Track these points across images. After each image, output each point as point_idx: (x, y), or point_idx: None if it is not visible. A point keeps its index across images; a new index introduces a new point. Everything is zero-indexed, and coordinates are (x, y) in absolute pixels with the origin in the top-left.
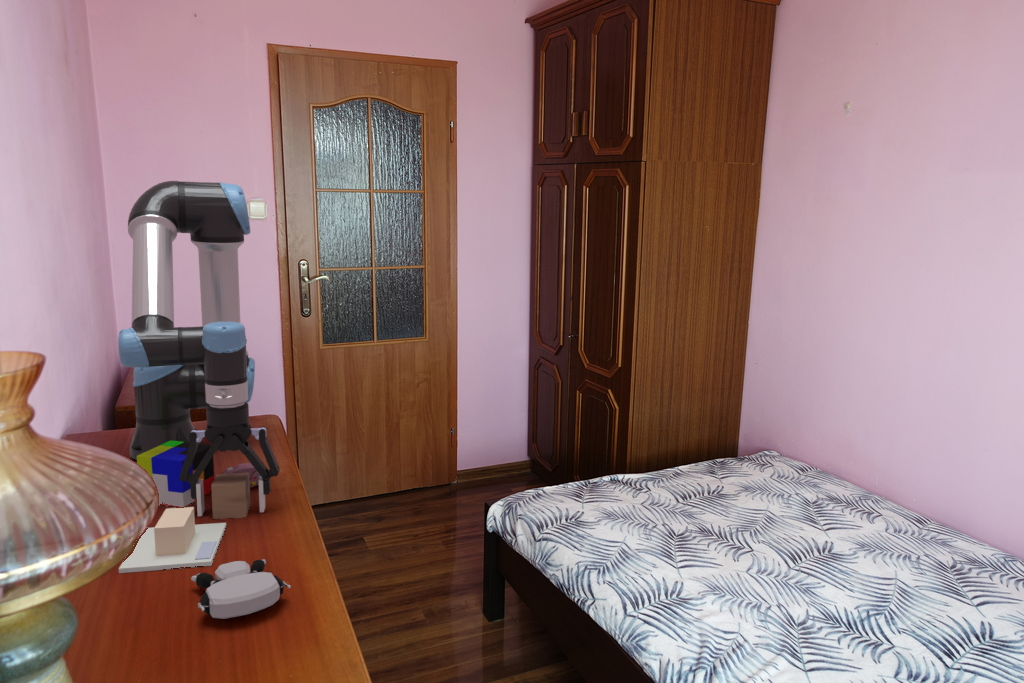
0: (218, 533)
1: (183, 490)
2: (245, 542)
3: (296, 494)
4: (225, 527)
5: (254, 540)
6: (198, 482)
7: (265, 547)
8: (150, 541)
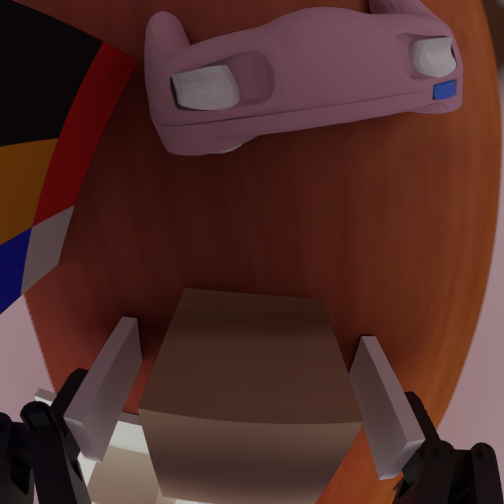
0: None
1: (14, 296)
2: None
3: (491, 232)
4: None
5: None
6: (82, 444)
7: (326, 490)
8: None
